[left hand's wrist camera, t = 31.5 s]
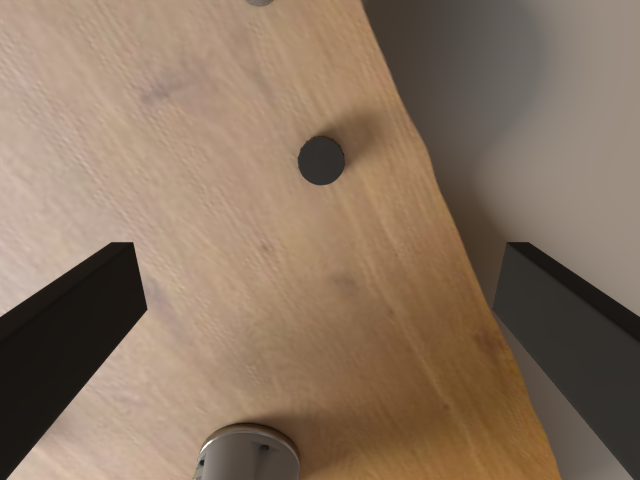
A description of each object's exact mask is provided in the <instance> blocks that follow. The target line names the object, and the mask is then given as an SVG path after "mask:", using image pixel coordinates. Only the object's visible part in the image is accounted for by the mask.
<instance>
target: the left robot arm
mask: <svg viewBox="0 0 640 480" xmlns="http://www.w3.org/2000/svg"><path fill="white" fill-rule="evenodd" d="M147 310H148V309H147V305H146V300H145V295H144V291H143V286H142V281H141V276H140V272H139V267H138V262H137V258H136V253H135V248H134V244H133V242H111V243H110V244H108V245H107V246H105V247H104V248H102V249H101V250H99V251H98V252H96V253H95V254H93V255H92V256H90V257H89V258H87V259H86V260H84V261H83V262H81V263H80V264H78V265H77V266H75V267H74V268H72V269H71V270H69V271H68V272H67V273H65V274H64V275H62V276H61V277H59V278H58V279H56V280H55V281H53V282H52V283H50V284H49V285H47V286H46V287H44V288H43V289H41V290H40V291H38V292H37V293H35V294H34V295H32V296H31V297H29V298H28V299H26V300H25V301H23V302H22V303H20V304H19V305H17V306H16V307H15V308H13V309H12V310H10V311H9V312H7V313H6V314H4V315H3V316H1V317H0V480H6V479H7V478H8V477H9V476H10V474H11V473H12V472H13V471H14V470H15V468H16V467H17V466H18V465H19V464H20V462H21V461H22V460H23V459H24V458H25V456H26V455H27V454H28V453H29V452H30V450H31V449H32V448H33V447H34V446H35V444H36V443H37V442H38V441H39V440H40V438H41V437H42V436H43V435H44V433H45V432H46V431H47V430H48V429H49V427H50V426H51V425H52V424H53V423H54V421H55V420H56V419H57V418H58V417H59V415H60V414H61V413H62V412H63V411H64V409H65V408H66V407H67V406H68V405H69V403H70V402H71V401H72V400H73V399H74V397H75V396H76V395H77V394H78V393H79V391H80V390H81V389H82V388H83V387H84V385H85V384H86V383H87V382H88V381H89V379H90V378H91V377H92V376H93V375H94V373H95V372H96V371H97V370H98V368H99V367H100V366H101V365H102V364H103V362H104V361H105V360H106V359H107V358H108V356H109V355H110V354H111V353H112V352H113V350H114V349H115V348H116V347H117V346H118V344H119V343H120V342H121V341H122V340H123V338H124V337H125V336H126V335H127V334H128V332H129V331H130V330H131V329H132V328H133V326H134V325H135V324H136V323H137V322H138V320H139V319H140V318H141V317H142V316H143V314H144V313H145V312H146V311H147ZM493 311H494V312H495V313H496V314H497V316H498V317H499V318H500V319H501V320H502V322H503V323H504V324H505V325H506V326H507V328H508V329H509V330H510V331H511V332H512V334H513V335H514V336H515V337H516V338H517V340H518V341H519V342H520V343H521V344H522V346H523V347H524V348H525V349H526V350H527V352H528V353H529V354H530V355H531V356H532V358H533V359H534V360H535V361H536V362H537V364H538V365H539V366H540V367H541V368H542V370H543V371H544V372H545V373H546V374H547V376H548V377H549V378H550V379H551V380H552V382H553V383H554V384H555V385H556V387H557V388H558V389H559V390H560V391H561V393H562V394H563V395H564V396H565V397H566V399H567V400H568V401H569V402H570V403H571V405H572V406H573V407H574V408H575V409H576V411H577V412H578V413H579V414H580V415H581V417H582V418H583V419H584V420H585V421H586V423H587V424H588V425H589V426H590V427H591V429H592V430H593V431H594V432H595V433H596V435H597V436H598V437H599V438H600V440H601V441H602V442H603V443H604V444H605V446H606V447H607V448H608V449H609V450H610V451H611V453H612V454H613V455H614V456H615V458H616V459H617V460H618V461H619V462H620V464H621V465H622V466H623V467H624V468H625V470H626V471H627V472H628V473H629V474H630V476H631V477H632V478H633V479H634V480H640V317H639V316H637V315H636V314H634V313H633V312H631V311H630V310H628V309H627V308H625V307H624V306H623V305H621V304H619V303H618V302H617V301H615V300H614V299H612V298H611V297H609V296H608V295H606V294H605V293H603V292H602V291H600V290H599V289H597V288H596V287H594V286H593V285H591V284H590V283H588V282H587V281H585V280H584V279H582V278H581V277H579V276H578V275H576V274H575V273H573V272H572V271H570V270H569V269H568V268H566V267H564V266H563V265H562V264H560V263H559V262H557V261H556V260H554V259H553V258H551V257H550V256H548V255H547V254H545V253H544V252H542V251H541V250H539V249H538V248H536V247H535V246H533V245H532V244H530V243H529V242H507V244H506V248H505V253H504V258H503V262H502V267H501V272H500V277H499V281H498V286H497V291H496V295H495V300H494V305H493ZM299 474H300V455H299V452H298V450H297V448H296V446H295V445H294V444H293V442H292V441H291V440H290V439H289V438H287V437H286V436H285V435H283V434H282V433H280V432H278V431H276V430H274V429H272V428H269V427H265V426H261V425H255V424H238V425H232V426H228V427H225V428H222V429H220V430H218V431H216V432H215V433H213V434H212V435H210V436H209V437H208V438H207V439H206V441H205V442H204V444H203V445H202V448H201V451H200V454H199V456H198V460H197V466H196V470H195V473H194V476H193V479H195V478H196V480H298V478H299Z"/></svg>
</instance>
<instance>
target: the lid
mask: <svg viewBox="0 0 640 480" xmlns="http://www.w3.org/2000/svg"><path fill="white" fill-rule="evenodd" d="M300 150H301V151H300V154H299V156H298V166H299V167H298V168H299V170H300V172H301V174H302V176H303V177H304V178H305V179H306V180H307V181H309V182H310V183H313V184H316V185H327V184H330V183H332V182H334V181H335V180H336V179H337V178H338V177H339V176H340V175H341V173H342V171H343V168H344V165H345V164H344V153H342V150H341V148H340V145H338V144H337V143H336V142H335V141H334V140H333V139H330V138H328V137H325V136H319V137H314V138H312V139H310V140H309V141H306V143H305V144H304V146H303V147H302V148H301V149H300Z"/></svg>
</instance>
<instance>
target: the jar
mask: <svg viewBox="0 0 640 480" xmlns="http://www.w3.org/2000/svg"><path fill="white" fill-rule="evenodd" d="M245 1H247V2H248V3H250V4H252V5H254V6H265V5H267V4H269V3H271V2H272V1H273V0H245Z"/></svg>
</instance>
